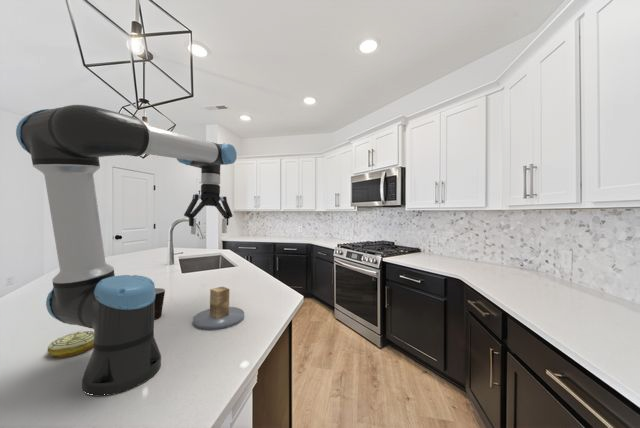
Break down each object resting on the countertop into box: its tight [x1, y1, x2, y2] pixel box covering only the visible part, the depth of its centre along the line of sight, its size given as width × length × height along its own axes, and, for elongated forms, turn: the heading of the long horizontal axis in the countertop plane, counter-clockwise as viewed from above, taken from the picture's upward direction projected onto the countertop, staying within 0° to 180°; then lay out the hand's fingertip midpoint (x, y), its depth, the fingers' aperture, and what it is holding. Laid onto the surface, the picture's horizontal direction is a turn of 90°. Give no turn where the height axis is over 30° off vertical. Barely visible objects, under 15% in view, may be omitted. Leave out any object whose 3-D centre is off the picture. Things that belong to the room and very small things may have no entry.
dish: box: [192, 306, 245, 331], centre depth 94 cm, size 18×18×2 cm
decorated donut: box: [47, 330, 94, 358], centre depth 72 cm, size 10×11×4 cm
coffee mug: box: [154, 287, 166, 321], centre depth 94 cm, size 12×9×10 cm
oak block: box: [209, 286, 230, 319], centre depth 94 cm, size 5×5×10 cm
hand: (209, 233), depth 106 cm, fingers open, 13 cm apart
